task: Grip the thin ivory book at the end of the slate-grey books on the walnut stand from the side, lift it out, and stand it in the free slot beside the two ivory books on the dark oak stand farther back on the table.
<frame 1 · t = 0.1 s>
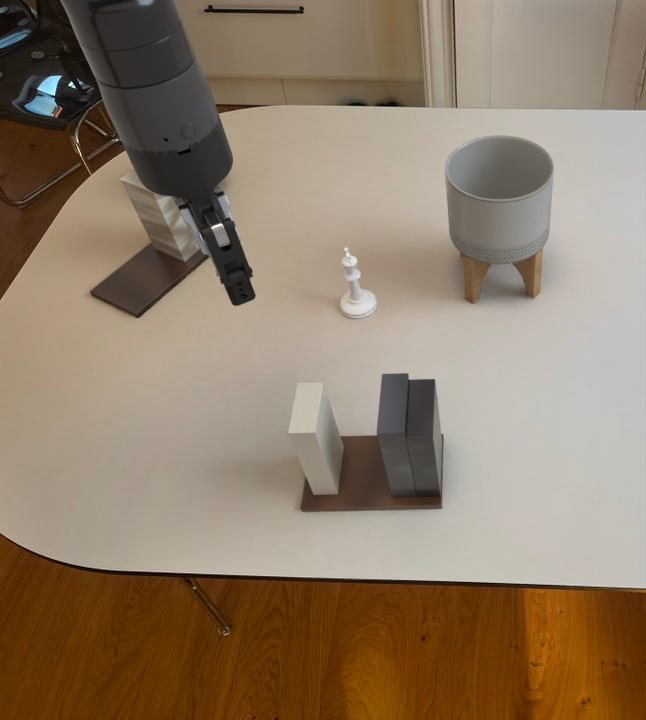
hand: (229, 273, 67), 22 cm above the table, tool pointing down, fingers open, 8 cm apart
white book: (329, 470, 77), point 1 cm above the table, touching grey book stand
grey book stand: (375, 473, 78), on the table
white book stand: (160, 268, 100), on the table
planter: (499, 275, 98), on the table
apple: (198, 189, 112), on the table
chess piece: (359, 306, 94), on the table
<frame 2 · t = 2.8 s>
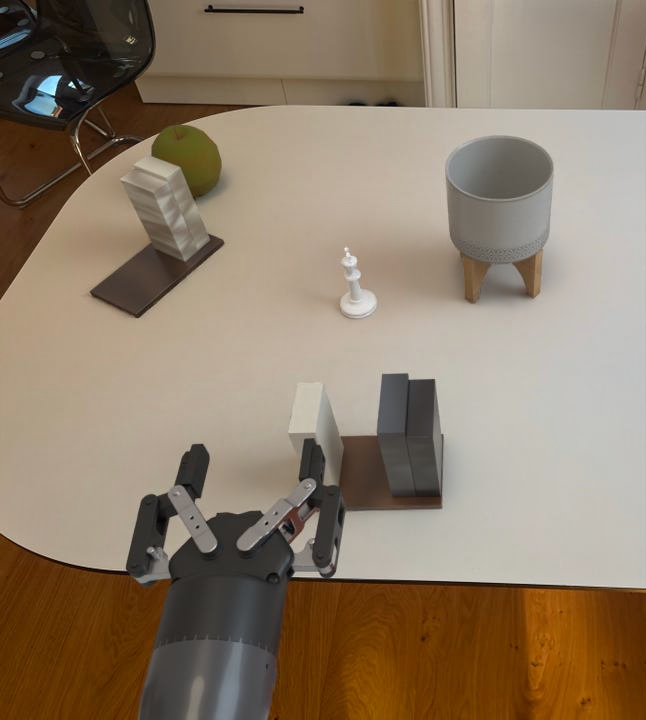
hand: (256, 446, 54), 22 cm above the table, tool horizontal, fingers open, 8 cm apart
nothing on the table moved.
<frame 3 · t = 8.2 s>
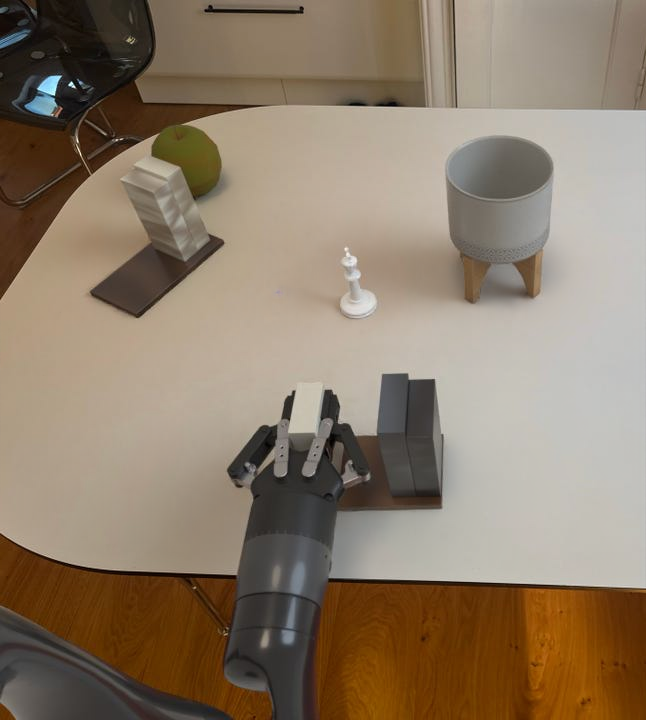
hand: (313, 395, 71), 11 cm above the table, tool horizontal, fingers closed on white book, 2 cm apart
white book: (329, 470, 77), point 1 cm above the table, touching grey book stand, gripper
everything else where it was.
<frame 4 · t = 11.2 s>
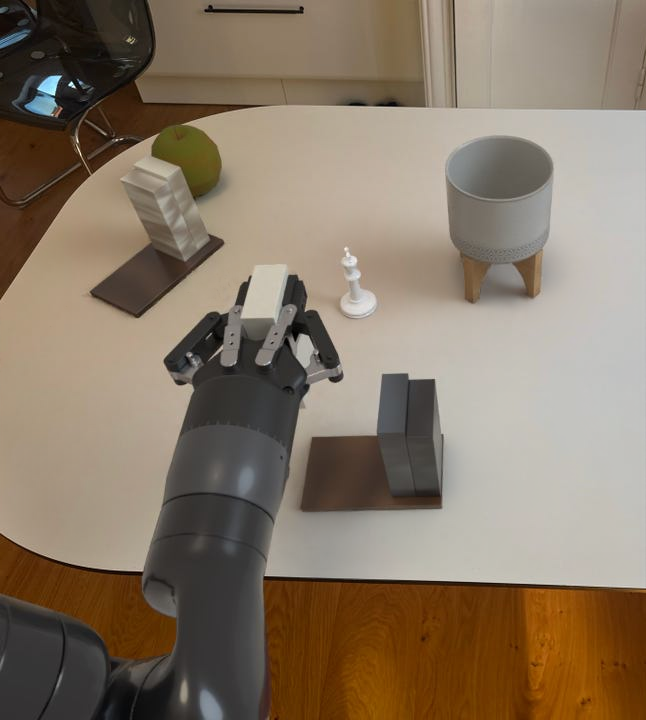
hand: (275, 282, 59), 27 cm above the table, tool horizontal, fingers closed on white book, 2 cm apart
white book: (296, 382, 65), point 17 cm above the table, touching gripper
everything else where it was.
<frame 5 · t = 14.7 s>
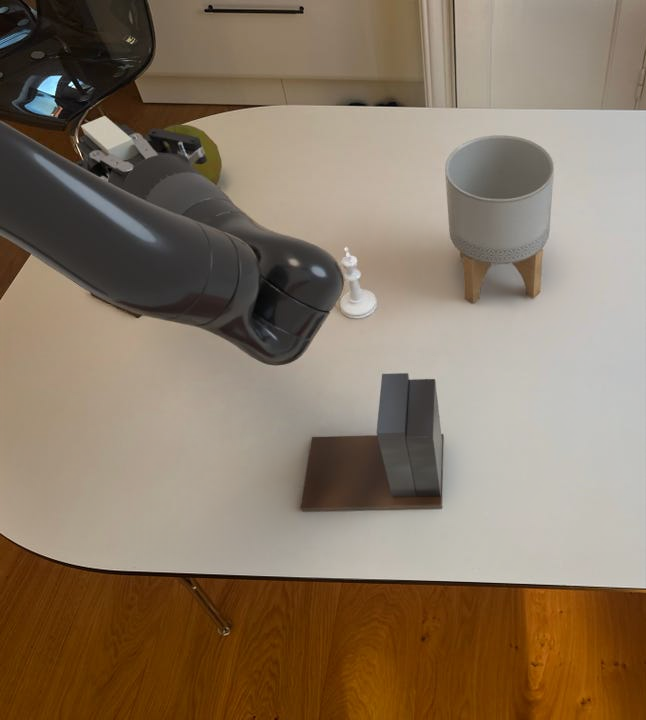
hand: (101, 138, 73), 27 cm above the table, tool horizontal, fingers closed on white book, 2 cm apart
white book: (151, 226, 80), point 17 cm above the table, touching gripper
everything else where it was.
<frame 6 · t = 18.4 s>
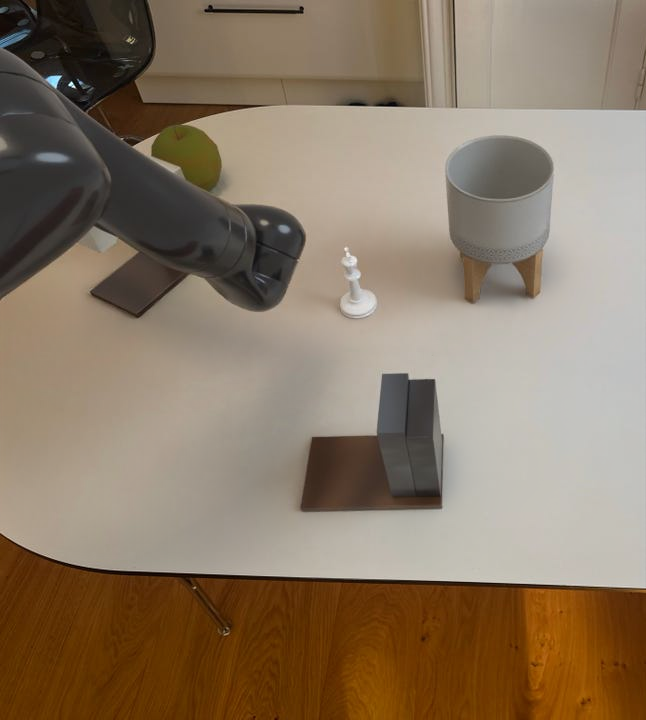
hand: (36, 166, 81), 20 cm above the table, tool horizontal, fingers closed on white book, 2 cm apart
white book: (93, 240, 88), point 10 cm above the table, touching gripper
everything else where it was.
when the fingers open (11 cm above the table, at t = 21.2 s): white book stays where it is, resting on white book stand.
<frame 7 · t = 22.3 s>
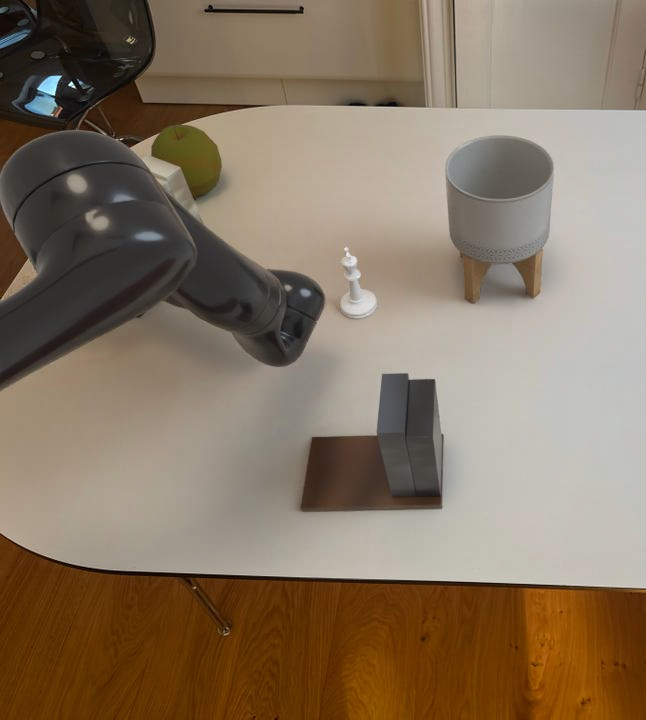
hand: (77, 227, 88), 12 cm above the table, tool horizontal, fingers open, 8 cm apart
white book: (124, 293, 96), point 1 cm above the table, touching white book stand
everything else where it was.
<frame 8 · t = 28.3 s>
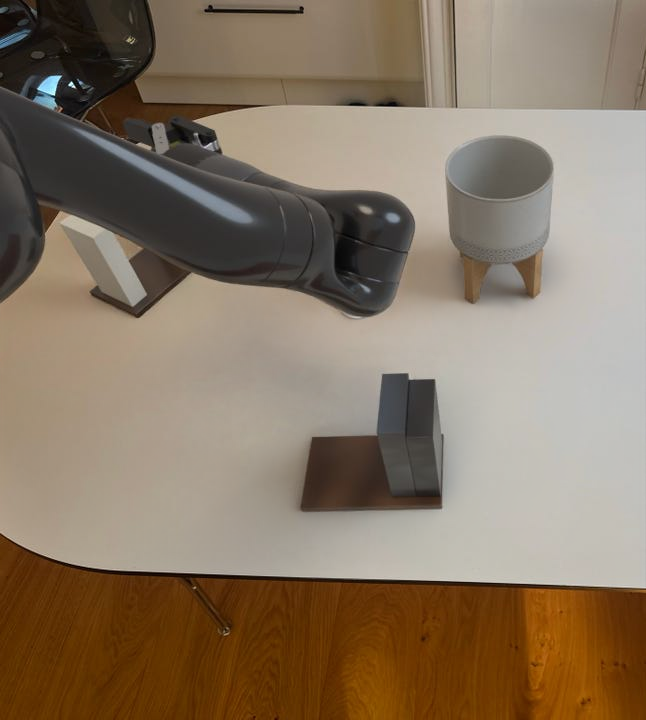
hand: (94, 149, 70), 28 cm above the table, tool horizontal, fingers open, 8 cm apart
nothing on the table moved.
at the end: white book 0.2 cm from the target spot on the white book stand, point 0.8 cm above the white book stand's base; white book tilted 0°; the gripper is holding nothing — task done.
